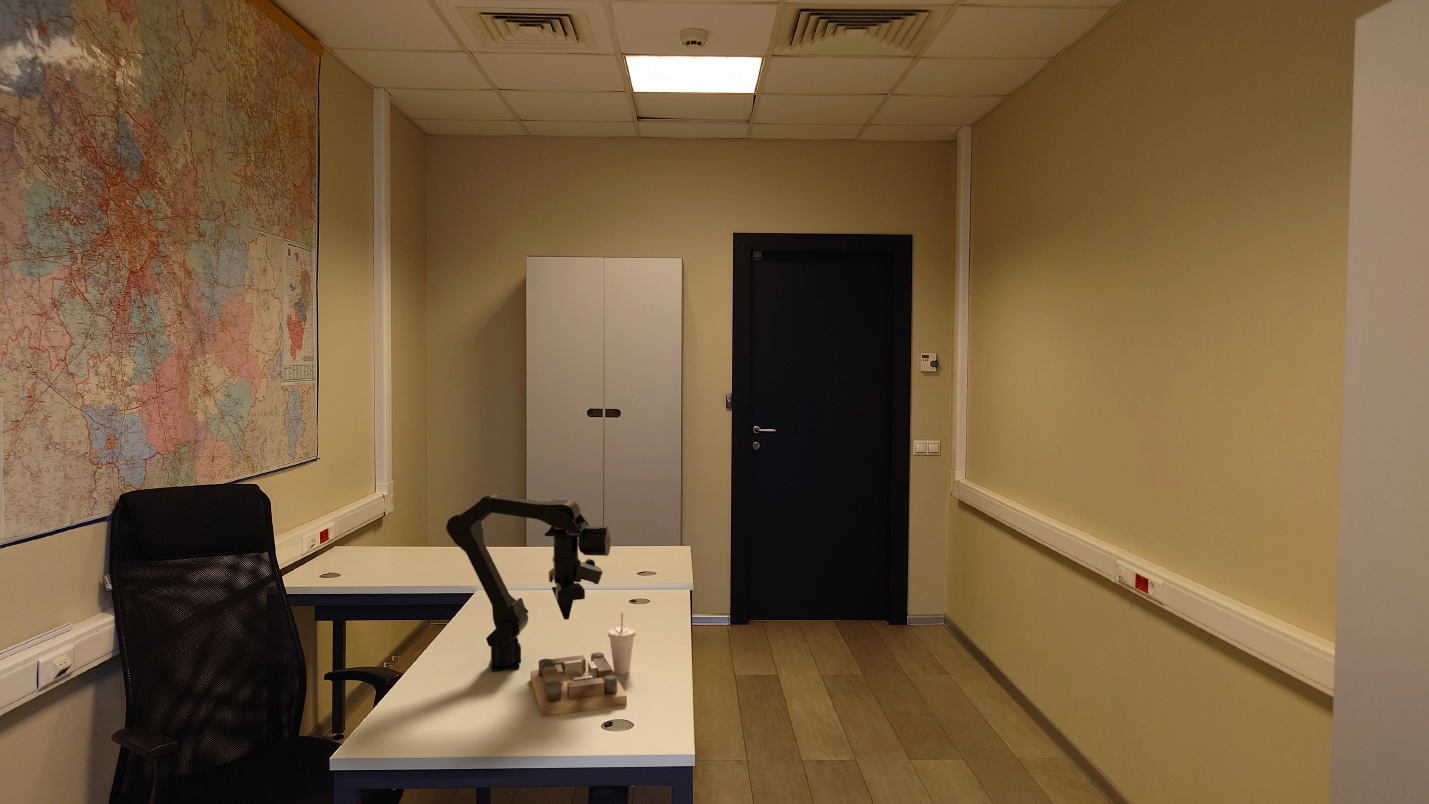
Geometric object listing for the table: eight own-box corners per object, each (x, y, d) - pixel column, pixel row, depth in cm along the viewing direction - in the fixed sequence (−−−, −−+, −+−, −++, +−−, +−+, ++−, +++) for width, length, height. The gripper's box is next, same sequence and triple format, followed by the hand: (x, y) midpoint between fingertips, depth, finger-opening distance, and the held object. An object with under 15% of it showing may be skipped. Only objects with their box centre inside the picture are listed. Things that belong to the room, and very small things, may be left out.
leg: (562, 700, 165) (562, 686, 165) (547, 701, 164) (547, 687, 164) (555, 675, 178) (555, 662, 178) (541, 677, 177) (541, 664, 177)
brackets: (561, 695, 168) (561, 681, 168) (554, 675, 178) (554, 662, 178) (601, 689, 171) (601, 676, 171) (591, 670, 181) (591, 658, 181)
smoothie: (636, 665, 190) (636, 608, 189) (634, 676, 183) (634, 617, 183) (609, 665, 190) (609, 608, 189) (606, 676, 183) (606, 617, 182)
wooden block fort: (541, 716, 163) (541, 693, 162) (530, 679, 181) (530, 658, 181) (626, 704, 169) (626, 681, 168) (607, 669, 187) (607, 648, 187)
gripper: (606, 561, 180) (607, 628, 181) (593, 543, 197) (593, 604, 198) (557, 565, 176) (558, 633, 177) (548, 546, 194) (548, 608, 195)
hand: (566, 619), depth 187 cm, fingers closed
